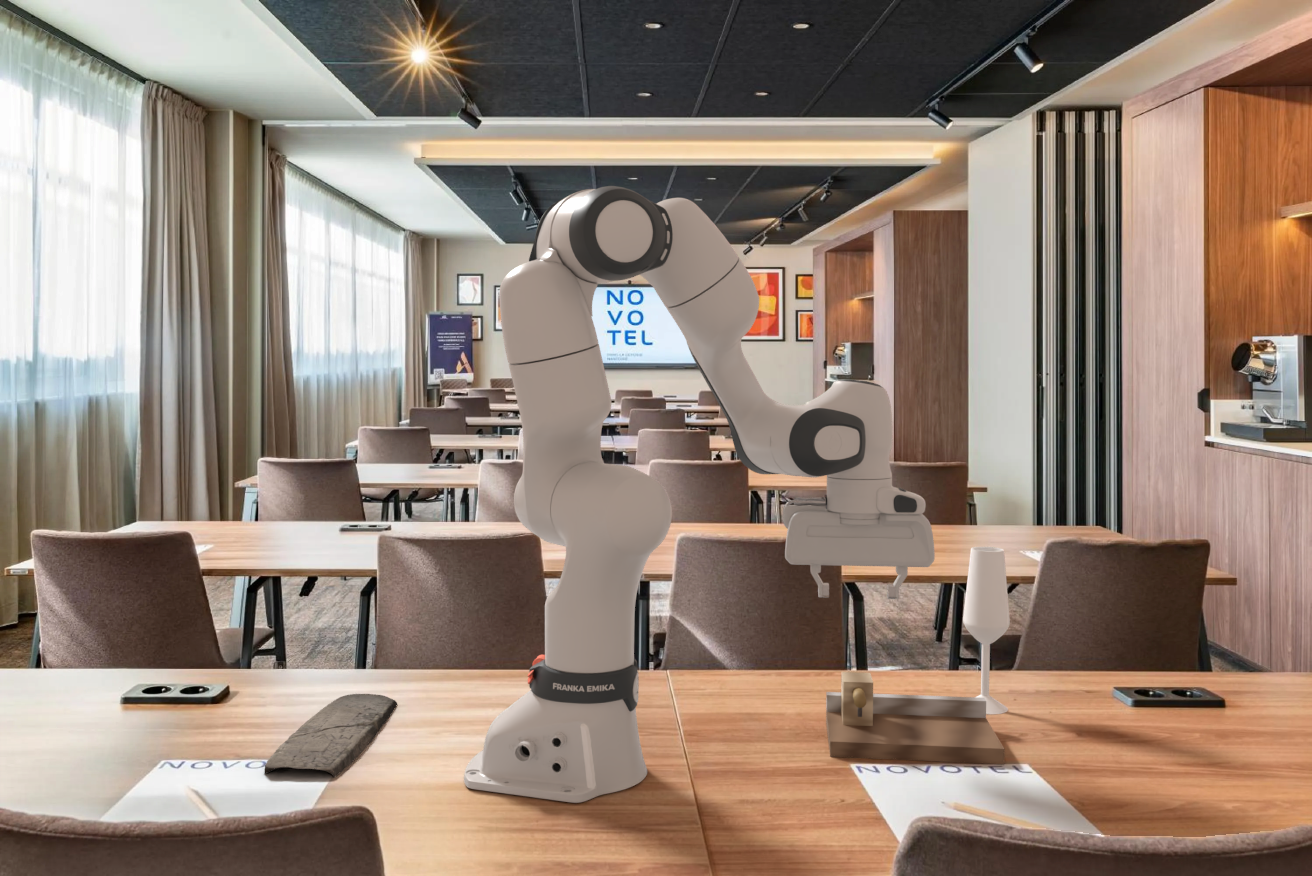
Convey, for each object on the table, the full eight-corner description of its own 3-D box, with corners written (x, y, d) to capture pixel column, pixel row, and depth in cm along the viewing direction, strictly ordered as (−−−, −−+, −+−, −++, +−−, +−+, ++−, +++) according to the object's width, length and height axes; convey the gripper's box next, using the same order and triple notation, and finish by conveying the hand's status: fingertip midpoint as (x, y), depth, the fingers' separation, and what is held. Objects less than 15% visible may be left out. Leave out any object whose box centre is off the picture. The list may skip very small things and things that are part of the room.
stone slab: (404, 692, 158) (337, 755, 128) (404, 713, 158) (338, 781, 128) (337, 692, 158) (254, 755, 128) (337, 713, 158) (255, 781, 128)
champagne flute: (1002, 701, 159) (1005, 546, 158) (1013, 715, 153) (1016, 553, 151) (957, 699, 160) (960, 545, 159) (966, 713, 153) (968, 552, 152)
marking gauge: (844, 734, 138) (845, 690, 138) (841, 713, 147) (841, 671, 147) (875, 736, 137) (875, 691, 137) (869, 714, 146) (870, 672, 146)
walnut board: (830, 756, 135) (830, 723, 135) (826, 722, 149) (826, 691, 149) (1004, 764, 133) (1004, 730, 132) (983, 728, 147) (984, 697, 146)
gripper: (782, 499, 141) (782, 600, 141) (937, 501, 138) (935, 604, 139) (782, 494, 147) (782, 591, 148) (930, 496, 144) (929, 594, 145)
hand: (858, 597), depth 143 cm, fingers open, 8 cm apart
